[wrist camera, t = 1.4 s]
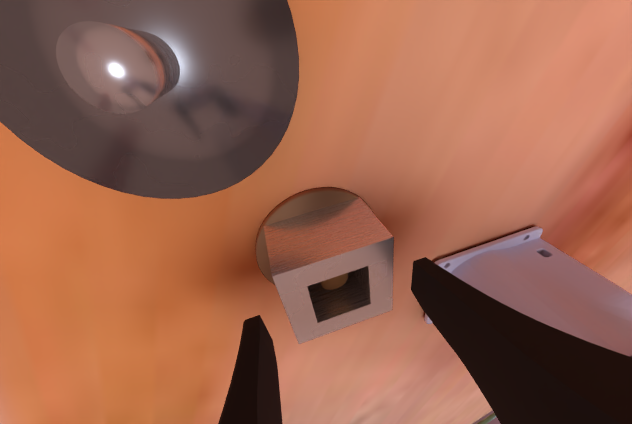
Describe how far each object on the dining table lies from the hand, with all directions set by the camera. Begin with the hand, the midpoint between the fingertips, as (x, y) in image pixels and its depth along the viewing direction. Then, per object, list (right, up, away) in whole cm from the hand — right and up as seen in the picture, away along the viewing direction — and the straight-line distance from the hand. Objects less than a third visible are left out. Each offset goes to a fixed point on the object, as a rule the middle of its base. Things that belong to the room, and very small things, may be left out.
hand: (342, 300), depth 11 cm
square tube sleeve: (-1, +2, +3) cm, 4 cm away
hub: (-6, +9, -3) cm, 11 cm away
